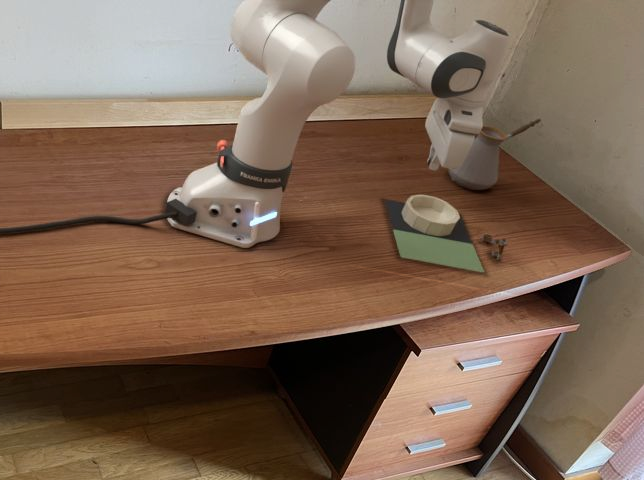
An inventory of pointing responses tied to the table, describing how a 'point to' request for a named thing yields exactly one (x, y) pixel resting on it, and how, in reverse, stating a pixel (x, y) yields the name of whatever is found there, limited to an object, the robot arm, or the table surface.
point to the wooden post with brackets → (496, 241)
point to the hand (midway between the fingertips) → (431, 167)
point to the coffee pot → (484, 158)
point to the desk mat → (433, 243)
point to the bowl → (430, 215)
